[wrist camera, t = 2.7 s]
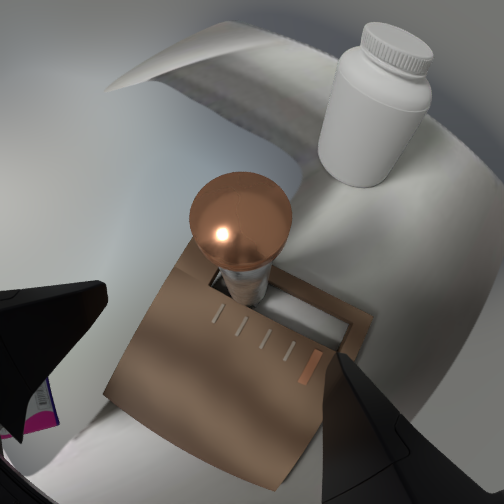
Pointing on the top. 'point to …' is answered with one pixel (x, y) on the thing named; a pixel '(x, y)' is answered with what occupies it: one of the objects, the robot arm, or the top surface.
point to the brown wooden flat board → (229, 372)
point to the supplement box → (39, 412)
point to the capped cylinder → (241, 230)
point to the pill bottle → (375, 105)
